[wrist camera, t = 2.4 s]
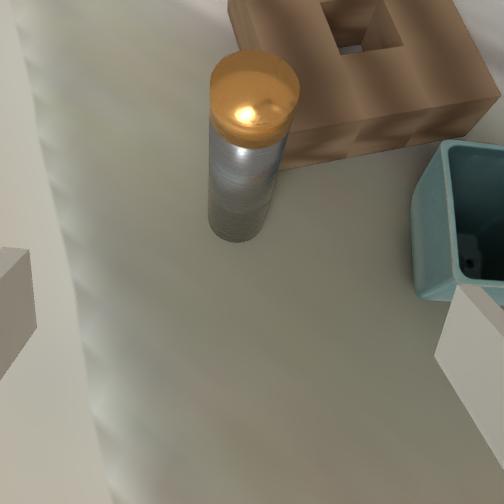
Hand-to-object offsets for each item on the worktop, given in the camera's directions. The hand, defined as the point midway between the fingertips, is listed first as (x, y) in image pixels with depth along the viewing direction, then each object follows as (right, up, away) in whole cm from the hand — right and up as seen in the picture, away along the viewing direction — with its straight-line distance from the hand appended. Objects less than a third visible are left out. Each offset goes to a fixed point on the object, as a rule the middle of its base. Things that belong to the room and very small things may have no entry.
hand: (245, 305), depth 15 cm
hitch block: (+8, +17, +25) cm, 31 cm away
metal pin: (-1, +4, +19) cm, 20 cm away
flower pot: (+14, +1, +20) cm, 24 cm away
